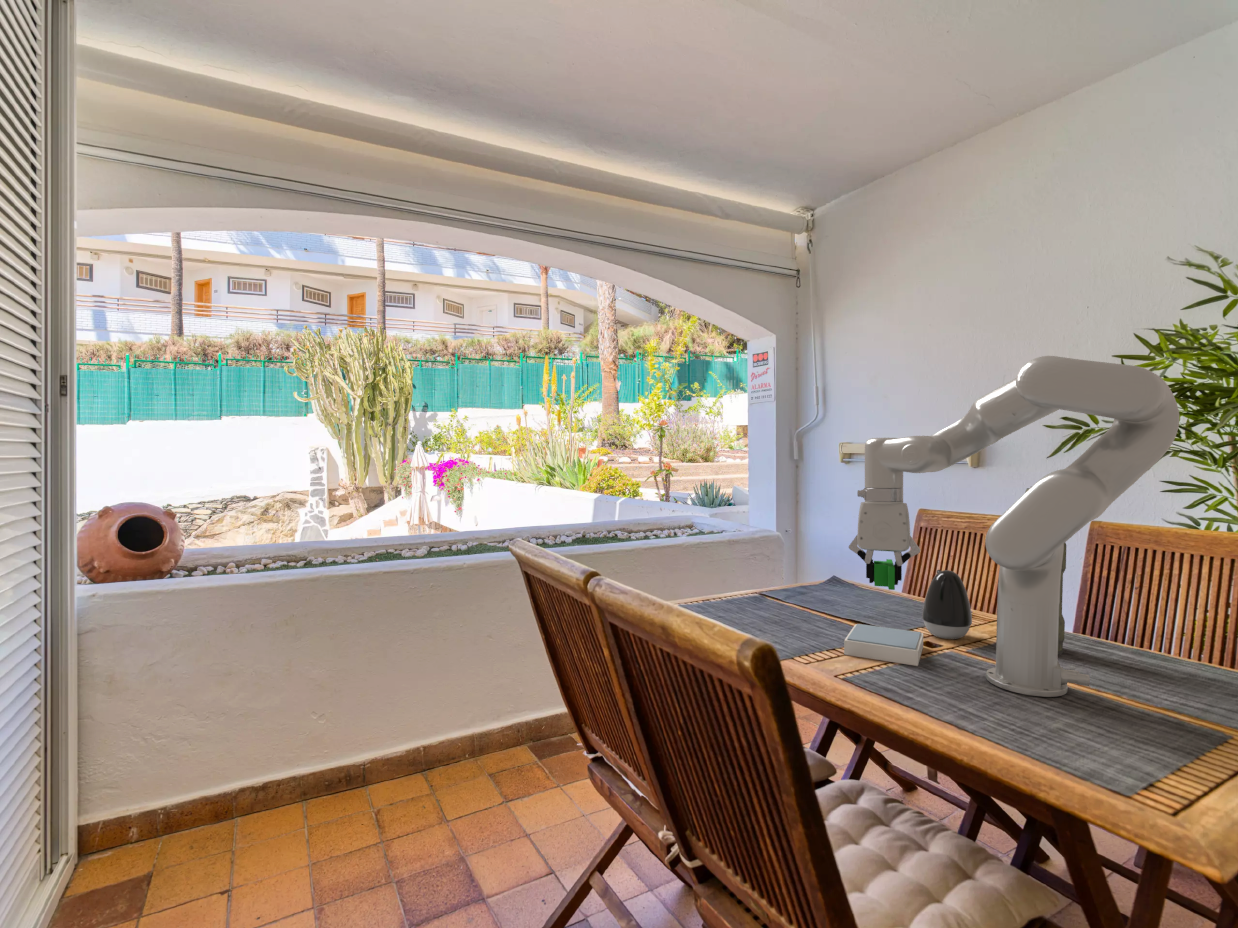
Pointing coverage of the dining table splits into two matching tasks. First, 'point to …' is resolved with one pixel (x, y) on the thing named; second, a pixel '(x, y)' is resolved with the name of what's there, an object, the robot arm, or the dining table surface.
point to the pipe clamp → (884, 574)
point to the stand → (884, 644)
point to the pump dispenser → (947, 606)
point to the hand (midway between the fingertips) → (883, 581)
